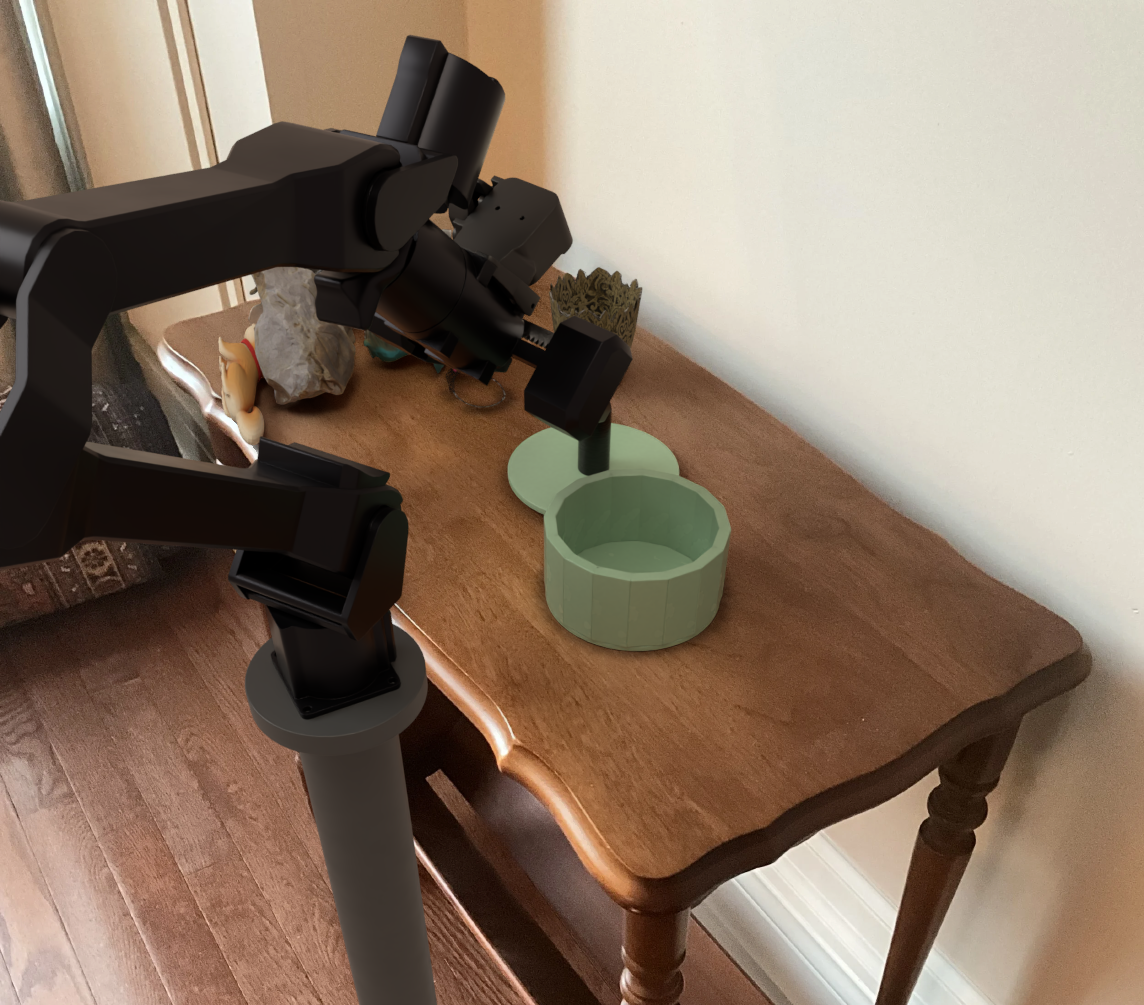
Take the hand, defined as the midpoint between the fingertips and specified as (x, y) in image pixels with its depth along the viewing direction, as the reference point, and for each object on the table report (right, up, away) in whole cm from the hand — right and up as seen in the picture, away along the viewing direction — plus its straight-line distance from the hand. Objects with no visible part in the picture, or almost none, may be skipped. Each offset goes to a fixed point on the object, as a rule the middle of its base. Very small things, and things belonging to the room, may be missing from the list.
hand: (555, 388), depth 80 cm
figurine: (-10, +11, +16) cm, 22 cm away
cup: (+3, +7, +19) cm, 21 cm away
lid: (+3, -4, +9) cm, 10 cm away
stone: (-20, +9, +19) cm, 29 cm away
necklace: (-7, +5, +18) cm, 20 cm away
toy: (-28, +5, +15) cm, 32 cm away
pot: (+5, -14, 0) cm, 15 cm away
